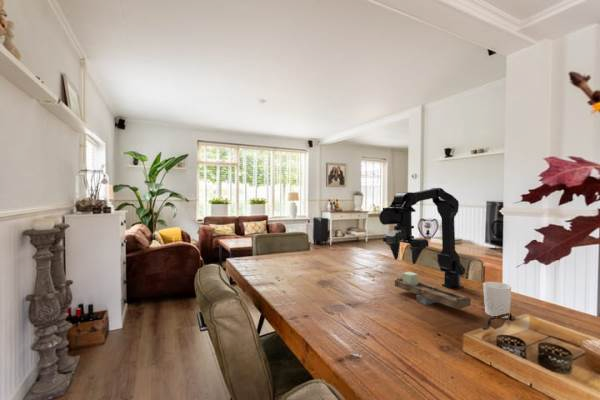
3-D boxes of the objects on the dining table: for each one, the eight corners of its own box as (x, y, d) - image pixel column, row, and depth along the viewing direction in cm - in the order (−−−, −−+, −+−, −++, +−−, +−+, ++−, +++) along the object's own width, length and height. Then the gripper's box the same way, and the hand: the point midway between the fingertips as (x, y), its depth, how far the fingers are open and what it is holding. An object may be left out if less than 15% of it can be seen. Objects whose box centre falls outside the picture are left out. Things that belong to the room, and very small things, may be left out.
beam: (393, 292, 118) (393, 279, 118) (408, 289, 122) (408, 276, 122) (455, 317, 93) (455, 300, 93) (472, 312, 97) (472, 296, 97)
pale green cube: (402, 283, 117) (402, 272, 117) (409, 282, 119) (409, 271, 119) (411, 286, 113) (410, 275, 113) (418, 285, 115) (417, 274, 115)
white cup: (516, 320, 91) (516, 289, 91) (489, 318, 92) (489, 288, 92) (504, 310, 98) (503, 282, 98) (479, 308, 100) (479, 281, 100)
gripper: (372, 222, 118) (373, 259, 118) (408, 226, 102) (409, 269, 102) (392, 221, 123) (393, 256, 123) (429, 224, 107) (429, 265, 107)
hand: (404, 261), depth 114 cm, fingers open, 9 cm apart
